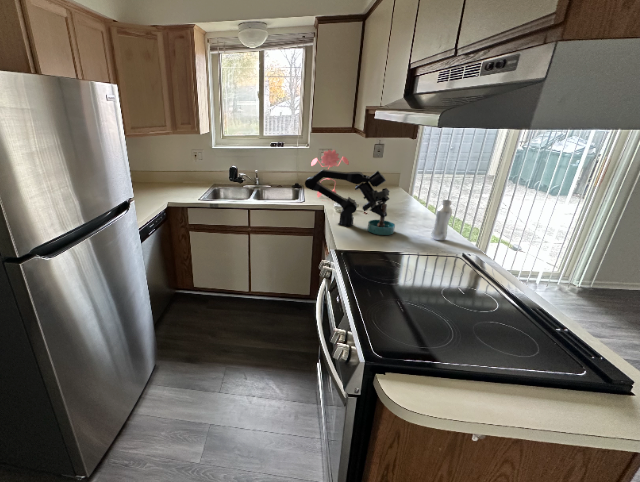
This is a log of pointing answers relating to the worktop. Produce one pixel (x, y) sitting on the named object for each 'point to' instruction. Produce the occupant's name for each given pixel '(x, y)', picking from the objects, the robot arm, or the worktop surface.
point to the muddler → (381, 222)
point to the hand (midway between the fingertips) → (385, 216)
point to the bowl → (380, 230)
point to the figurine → (330, 163)
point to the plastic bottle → (442, 221)
